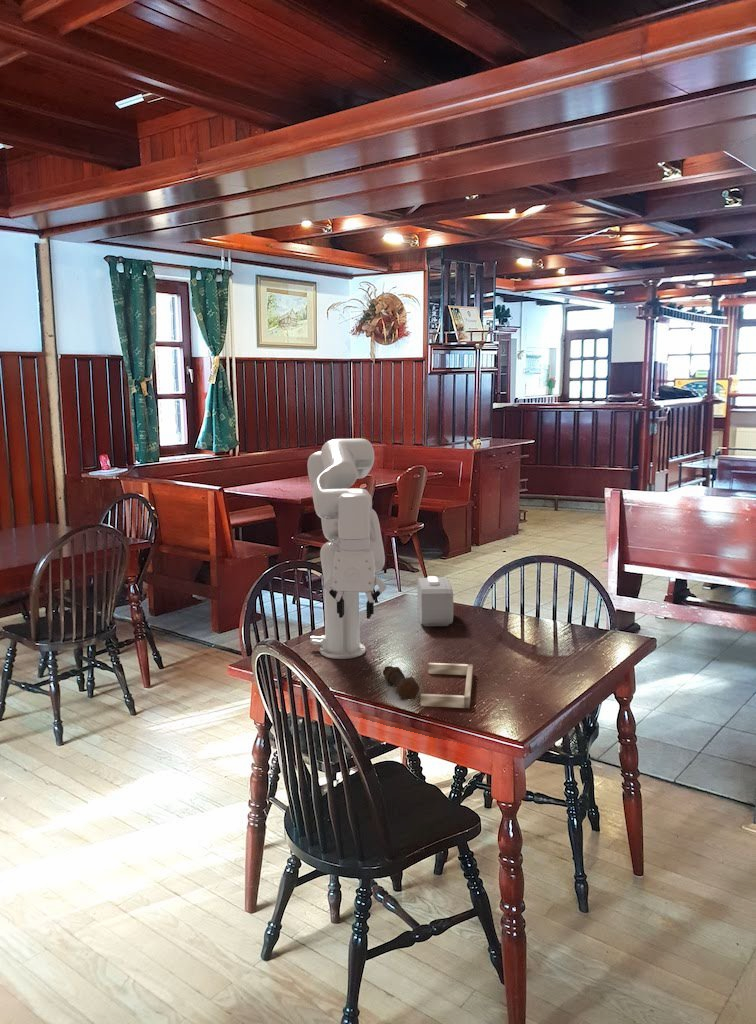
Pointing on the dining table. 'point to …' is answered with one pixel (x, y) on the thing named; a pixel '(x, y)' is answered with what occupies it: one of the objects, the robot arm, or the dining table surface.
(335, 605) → the robot arm
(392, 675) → the bolt
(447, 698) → the dock
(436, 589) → the grey rounded box
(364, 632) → the dining table surface
